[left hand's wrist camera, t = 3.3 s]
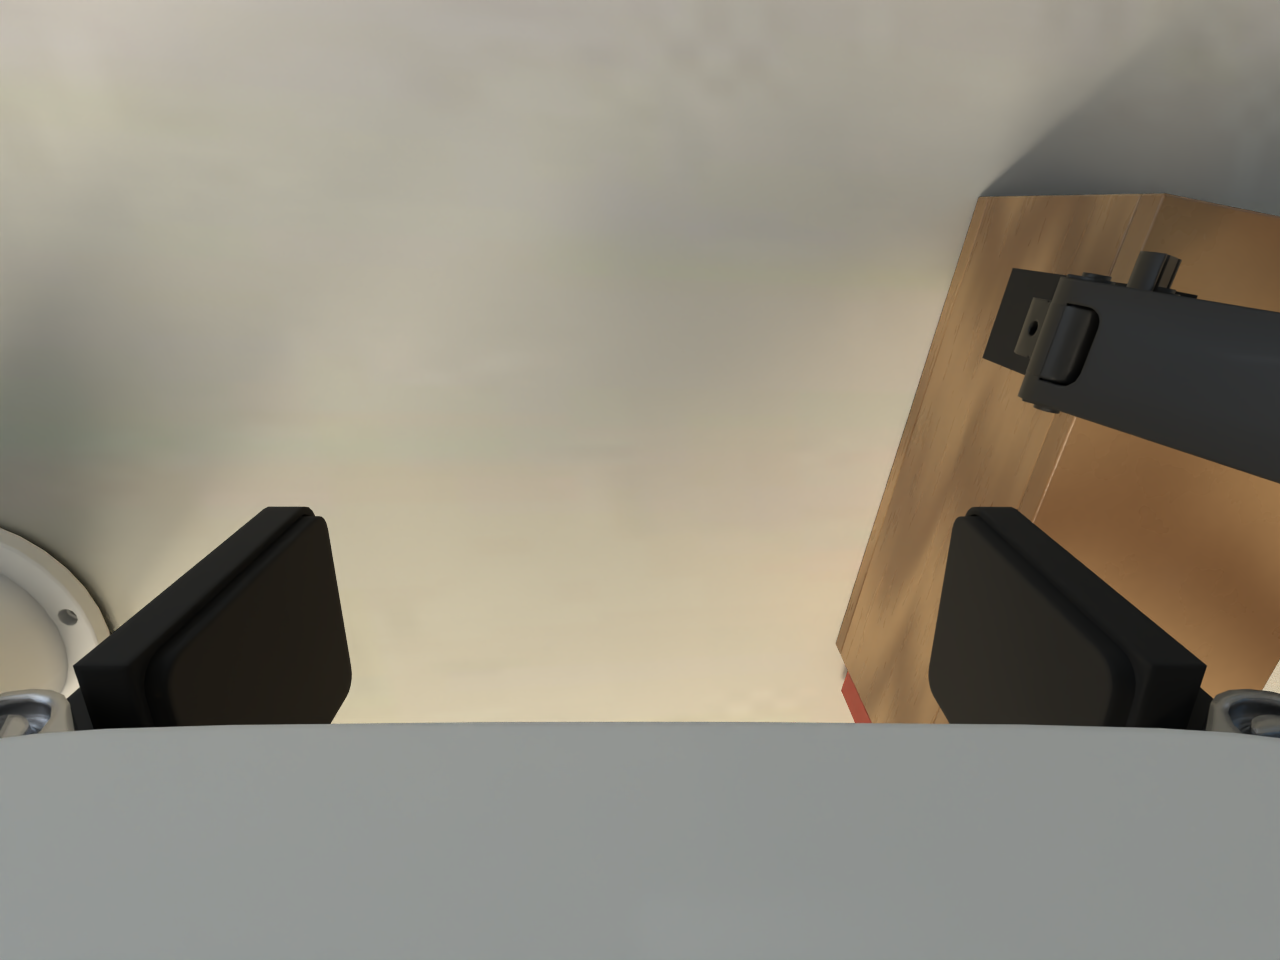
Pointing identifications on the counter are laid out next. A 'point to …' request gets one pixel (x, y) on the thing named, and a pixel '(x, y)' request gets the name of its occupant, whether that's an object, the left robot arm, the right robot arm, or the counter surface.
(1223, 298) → the cabinet
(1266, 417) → the right robot arm
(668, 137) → the counter surface
